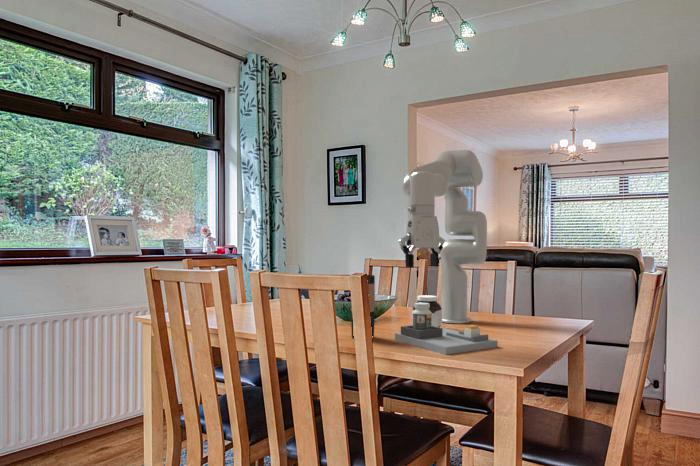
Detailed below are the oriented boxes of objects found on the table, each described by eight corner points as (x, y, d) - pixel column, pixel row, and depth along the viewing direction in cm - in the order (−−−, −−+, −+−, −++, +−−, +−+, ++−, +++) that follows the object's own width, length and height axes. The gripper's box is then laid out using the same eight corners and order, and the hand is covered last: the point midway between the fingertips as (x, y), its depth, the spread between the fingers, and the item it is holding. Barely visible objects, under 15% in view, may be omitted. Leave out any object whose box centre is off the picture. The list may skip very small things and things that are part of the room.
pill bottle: (431, 337, 159) (431, 304, 159) (412, 336, 160) (412, 304, 160) (431, 334, 165) (431, 302, 165) (413, 333, 166) (413, 302, 166)
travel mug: (379, 337, 169) (379, 275, 169) (362, 340, 164) (362, 276, 164) (362, 334, 175) (363, 274, 175) (346, 337, 169) (346, 275, 170)
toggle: (463, 337, 158) (463, 325, 158) (472, 336, 160) (472, 324, 160) (471, 339, 155) (471, 327, 155) (479, 338, 157) (479, 326, 157)
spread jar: (430, 326, 191) (430, 294, 191) (452, 331, 181) (452, 297, 182) (404, 329, 185) (404, 296, 185) (425, 334, 175) (426, 299, 175)
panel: (395, 339, 166) (395, 325, 166) (443, 333, 176) (443, 320, 176) (445, 354, 145) (445, 338, 145) (497, 347, 156) (497, 331, 156)
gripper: (407, 210, 155) (407, 268, 155) (451, 211, 164) (451, 266, 164) (392, 211, 162) (392, 267, 162) (436, 212, 170) (435, 265, 170)
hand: (422, 266), depth 163 cm, fingers open, 9 cm apart
